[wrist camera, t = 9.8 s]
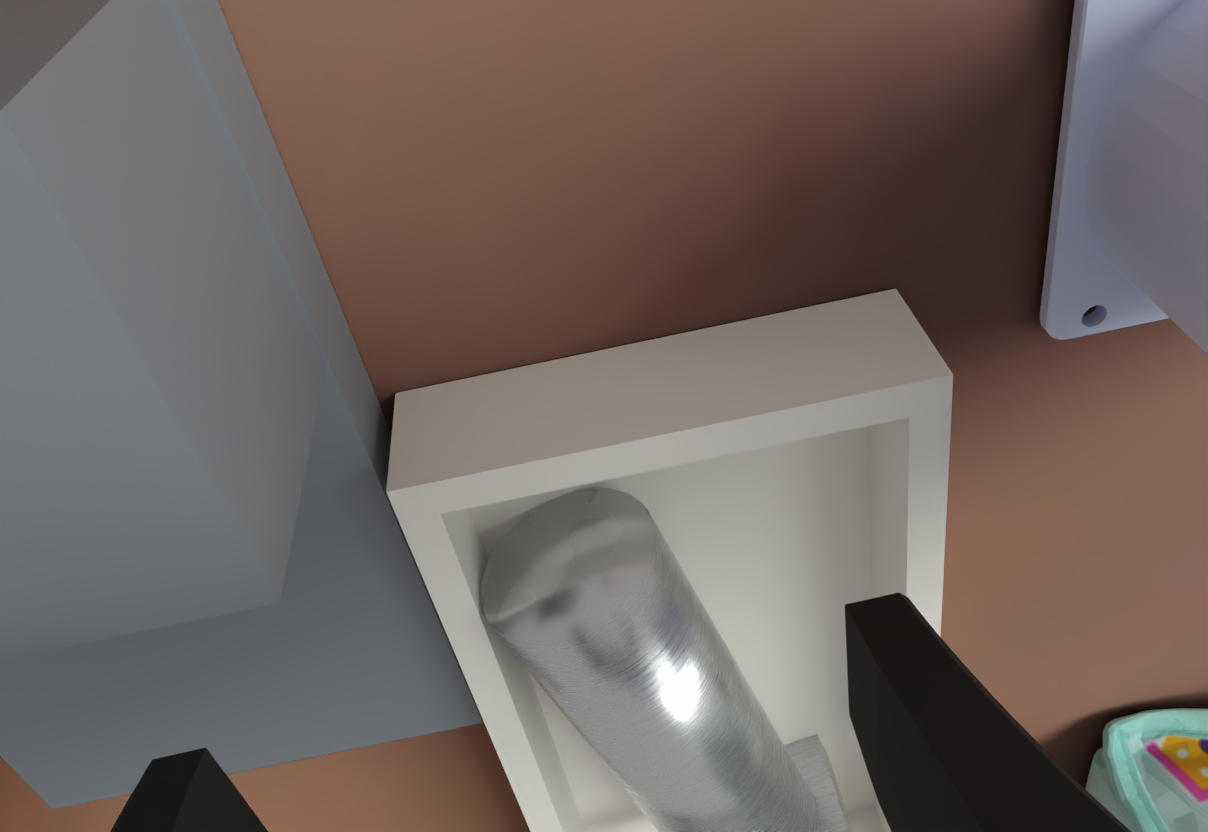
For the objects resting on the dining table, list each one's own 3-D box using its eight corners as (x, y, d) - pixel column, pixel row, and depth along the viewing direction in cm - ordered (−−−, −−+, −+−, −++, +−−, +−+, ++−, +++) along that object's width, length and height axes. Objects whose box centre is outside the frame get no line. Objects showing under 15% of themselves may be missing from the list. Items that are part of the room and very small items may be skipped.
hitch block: (-500, 78, 16) (-1101, 350, 10) (187, -74, 15) (10, 108, 9) (76, 740, 27) (-37, 1058, 21) (481, 658, 26) (486, 956, 20)
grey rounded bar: (455, 538, 23) (454, 681, 20) (666, 453, 22) (700, 588, 19) (666, 809, 31) (689, 943, 28) (828, 755, 30) (870, 886, 27)
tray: (896, 288, 21) (953, 374, 18) (893, 797, 33) (927, 890, 30) (395, 393, 21) (386, 491, 19) (575, 860, 33) (584, 957, 31)
